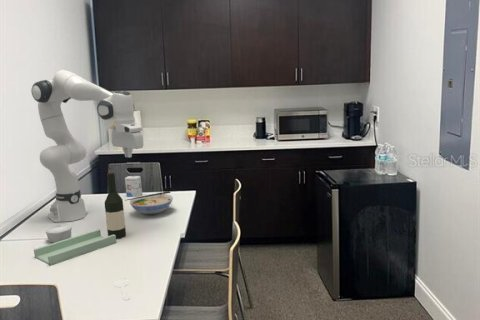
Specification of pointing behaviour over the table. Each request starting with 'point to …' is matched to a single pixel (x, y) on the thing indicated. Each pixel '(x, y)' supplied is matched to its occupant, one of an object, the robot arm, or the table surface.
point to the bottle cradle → (73, 247)
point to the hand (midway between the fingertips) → (128, 157)
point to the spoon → (122, 287)
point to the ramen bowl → (151, 203)
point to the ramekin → (58, 233)
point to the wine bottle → (114, 210)
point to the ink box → (133, 186)
